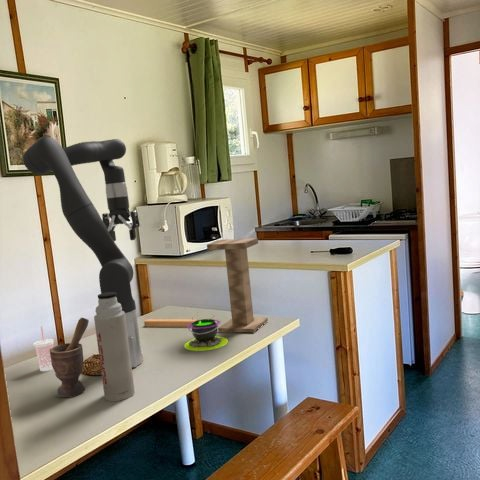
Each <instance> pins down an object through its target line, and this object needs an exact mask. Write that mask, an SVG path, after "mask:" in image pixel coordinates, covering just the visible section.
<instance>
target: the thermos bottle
mask: <svg viewBox="0 0 480 480" xmlns="http://www.w3.org/2000/svg"><path fill="white" fill-rule="evenodd" d="M116 296H117V293H116V292H107V293H102V294H101V293H100V294H97V301H98V305H97V306H96V307H95V315H94V317H93V321H94V327H95V335H96V341H97V351H98V357H99V365H100V373H101V380H102V386H103V394H104V399H105V401H110V402H119V401H124V400H127V399H129V398H131V397H133V396H134V395H135V393H136V392H135V383H134V376H133V375H134V374H133V369H132V367H131V360H130V350H129V342H128V334H127V326H126V318H125V312H124V311H122V307H121V304H120V303H118V302H117V298H116Z"/></svg>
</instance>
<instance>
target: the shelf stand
mask: <svg viewBox="0 0 480 480" xmlns="http://www.w3.org/2000/svg"><path fill="white" fill-rule="evenodd" d="M257 244H259V238H258V237H251V238H249V237H248V238H230V239H229V238H228V239H227V238H226V239H219V240H216V241H213V242H210V243H208V244H206V249H207V251H221V250H223V251H224V253H225V264H226V265H225V266H226V274H227V275H226V276H227V282H228V293H229V301H230V302H229V304H230V312H231V315H230V316H231V318H230V319H229V320H228V321H226V322H225V323H223V324H222V325H221V326H218V327H217V333H232V332H255V331H256V330H257V329H258V328H260V327H261V326H262V325H263V324H264V323H266V322H267V321H268V317H254V309H253V302H252V301H253V297H252V288H251V280H250V279H251V278H250V270H249V259H248V248H250V247H253V246H256V245H257ZM268 322H269V321H268ZM268 322H267V323H268ZM267 323H266V324H267ZM263 326H264V325H263ZM263 326H262V327H263ZM262 327H261V328H262ZM261 328H260V329H261ZM257 331H258V330H257ZM257 331H256V332H257ZM256 332H255V333H256Z"/></svg>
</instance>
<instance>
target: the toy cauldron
mask: <svg viewBox="0 0 480 480" xmlns="http://www.w3.org/2000/svg"><path fill="white" fill-rule="evenodd" d="M195 314H198V312H196V313H195ZM211 315H213V317H215V315H214V314H212V313H211ZM191 319H192V320H193V319H194V316H192V318H191ZM221 322H222V321H220V320H219V319H215V318H214V319H213V318H212V317H211V318H209V317H208V318H204V319H201V318H199V319H198V320H197V321H195V322H193V323H190V324H188V325H187V326H188V327H187V329H188V331H189V332H191V334H192V336H193V339H190V340H189V341H187V342H185V343H184V345H183V346H184V347H183V348H184V349H186V350H188V351H192V352H205V351H206V352H207V351H211V350H217V349H220V348H222V347H224V346H226V345H227V344H228V342H229V339H228V338H226V337H223V336H217V333H218V328H219V324H221ZM191 325H192V327H191Z"/></svg>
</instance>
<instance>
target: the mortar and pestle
mask: <svg viewBox="0 0 480 480" xmlns="http://www.w3.org/2000/svg"><path fill="white" fill-rule="evenodd" d="M88 326H89V319H88V318H85V317H80V318H79V319H78V321H77V324H76V327H75V330H74V333H73V337H72V339H71V341H70V342H69V343H67V342H65V343H63V344H62V343H61V344H58V345H55V346H53V348H51V349H50V356H51V363H52V367H53V369H52V370H53V371H54V375H55V377H56V379H58V380H59V381H60V382H61V385H60V386H58V388H57V397H58V398H73V397H75V396H79V395H81V394H82V393H84V392H85V391H86V387H85V385H84V384H83V383H82V382H81V381H79V378H80V376H81V374H82V373H83V367H84V362H85V361H84V351H83V344H82V343H80V341H81V339H82V337H83V335H84V333H85V331H87V328H88Z"/></svg>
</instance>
